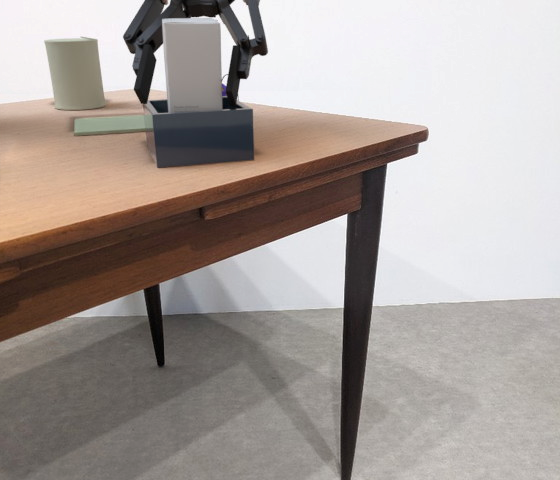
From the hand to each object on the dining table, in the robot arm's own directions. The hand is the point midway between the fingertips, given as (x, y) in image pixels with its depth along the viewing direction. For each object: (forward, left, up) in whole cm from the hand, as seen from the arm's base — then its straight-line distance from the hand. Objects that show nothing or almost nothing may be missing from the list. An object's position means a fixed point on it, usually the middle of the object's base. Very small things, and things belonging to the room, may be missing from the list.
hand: (185, 97), depth 71 cm
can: (-48, -12, -7) cm, 51 cm away
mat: (-25, -7, -7) cm, 27 cm away
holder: (-2, +2, -7) cm, 8 cm away
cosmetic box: (-2, +2, -7) cm, 8 cm away
